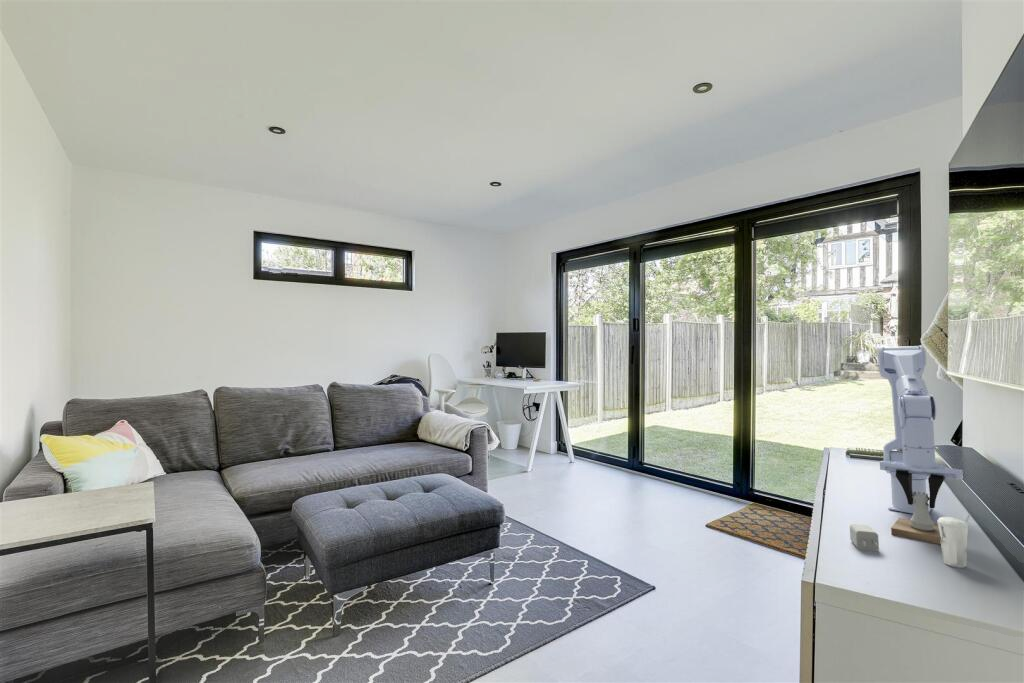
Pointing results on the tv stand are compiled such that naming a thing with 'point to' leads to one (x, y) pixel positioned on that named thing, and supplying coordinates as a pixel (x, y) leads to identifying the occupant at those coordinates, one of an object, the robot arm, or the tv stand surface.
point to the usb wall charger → (864, 537)
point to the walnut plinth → (915, 531)
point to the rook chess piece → (921, 513)
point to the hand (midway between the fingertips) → (921, 505)
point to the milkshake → (953, 540)
